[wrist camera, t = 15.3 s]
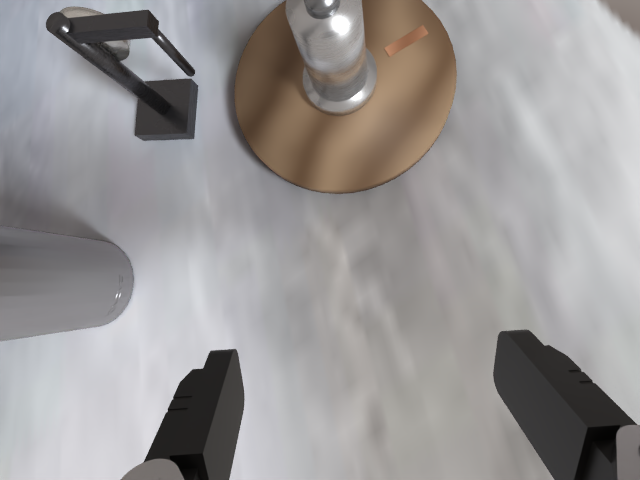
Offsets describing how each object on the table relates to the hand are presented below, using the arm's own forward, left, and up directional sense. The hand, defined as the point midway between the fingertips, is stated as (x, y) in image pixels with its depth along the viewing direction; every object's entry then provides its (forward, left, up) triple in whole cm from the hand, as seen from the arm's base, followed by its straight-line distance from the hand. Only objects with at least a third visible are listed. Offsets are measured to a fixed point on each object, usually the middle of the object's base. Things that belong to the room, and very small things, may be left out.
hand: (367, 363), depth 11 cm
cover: (-9, +19, -21) cm, 30 cm away
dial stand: (-25, +14, -24) cm, 37 cm away
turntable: (-9, +19, -22) cm, 31 cm away
